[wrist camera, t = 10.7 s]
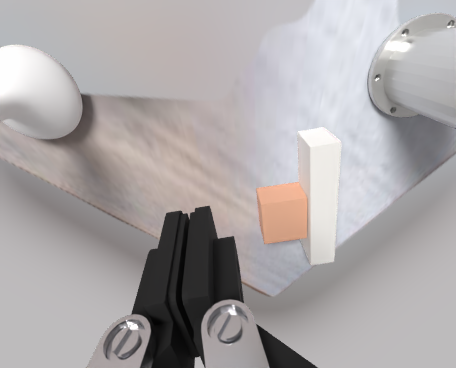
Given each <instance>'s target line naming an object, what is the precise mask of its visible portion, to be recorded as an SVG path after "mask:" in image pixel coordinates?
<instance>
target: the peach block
mask: <svg viewBox="0 0 456 368" xmlns="http://www.w3.org/2000/svg"><path fill="white" fill-rule="evenodd" d="M256 190H257V200H258V211H259V221H260V228H261V232H262V236H263V240H264V244H268V243H275V242H282V241H290V240H297V239H304V238H307V196H306V195H305V193H304V191H303V189H302V188H301V186H300V184H299V182H295V183H288V184H282V185H275V186H268V187H261V188H256Z"/></svg>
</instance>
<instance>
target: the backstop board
mask: <svg viewBox="0 0 456 368" xmlns="http://www.w3.org/2000/svg"><path fill="white" fill-rule="evenodd" d="M297 141H298V175H299V184H300V186H301V188H302V189H303V191H304V193H305V195H306V196H307V238H304V239H300V241H301V244H302V246H303V248H304V251H305V253H306V256H307V258H308V260H309V263H310V265H318V264H323V263H330V262H334V256H335V239H336V223H337V207H338V190H339V174H340V157H341V141H340V140H339V139H337V138H336V137H335V136H334V135H333V134H332V133H330V132H329V131H328V130H327V129H326V128H325V127H322V128H316V129H310V130H304V131H299V132H297Z"/></svg>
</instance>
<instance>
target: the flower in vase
mask: <svg viewBox="0 0 456 368" xmlns="http://www.w3.org/2000/svg"><path fill="white" fill-rule="evenodd" d="M82 108H83V107H82V98H81V94H80V91H79V89H78V87H77V84H76V82H75V81H74V79H73V77H72V76H71V75H70V73H69V72H68V71H67V70H66V69H65V68H64V67H63V65H61V64H60V63H59V62H58V61H57V60H56V59H54V58H53V57H51V56H50V55H48V54H46V53H45V52H43V51H41V50H38V49H36V48H33V47H29V46H24V45H8V46H4V47H1V48H0V122H4V123H5V124H6V125H7V126H9V127H10V128H12V129H13V130H15V131H17V132H19V133H21V134H23V135H26V136H28V137H32V138H37V139H56V138H61V137H63V136H66V135H68V134H69V133H71V132H72V131H73V130H74V129H75V128H76V127H77V125H78V124H79V122H80V119H81V116H82Z"/></svg>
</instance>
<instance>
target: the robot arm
mask: <svg viewBox="0 0 456 368" xmlns="http://www.w3.org/2000/svg"><path fill="white" fill-rule="evenodd" d="M402 31H403V32H402ZM375 76H376V77H375ZM368 89H369V93H370V97H371V99H372V101H373V103H374V104H375V105H376V106H377V108H378V109H380V110H381V111H383V112H384V113H386V114H388V115H391V116H395V117H412V116H416V115H419V114H421V115H423V116H426V117H428V118H430V119H433V120H435V121H438V122H440V123H443V124H445V125H448V126H450V127H452V128H455V129H456V17H454V16H452V15H449V14H443V13H430V14H425V15H420V16H418V17H415V18H413V19H410V20H409V21H407V22H405V23H404V24H402V25H400V26H399V27H398V28H397V29H396V30H394V31H393V32H392V33H391V34H390V35H389V36H388V37H387V39H386V40H385V41H384V42H383V44H382V45H381V46H380V48H379V49H378V51H377V53H376V55H375V57H374V59H373V61H372V64H371V67H370V71H369V77H368ZM199 356H200V357H201V360H202V362H203V364H204V367H205V368H317V367H316V366H315V365H313V364H312V363H310V362H309V361H308V360H306V359H305V358H303V357H302V356H301V355H299V354H298V353H296V352H295V351H293V350H292V349H291V348H289V347H288V346H286V345H285V344H284V343H282V342H281V341H280V340H278V339H277V338H275V337H273V336H272V335H271V334H270V333H268V332H267V331H265V330H264V329H263V328H261V327H260V326H258V325H257V324H256V323H255V320H254V317H253V314H252V312H251V310H250V309H249V308H248V307H247V306H246V305H245V304H244V301H243V292H242V284H241V275H240V268H239V261H238V255H237V249H236V244H235V240H234V236H232V237H226V238H220V239H218V237H217V233H216V229H215V225H214V221H213V217H212V212H211V209H210V206H205V207H199V208H195V212H192V213H190V220H189V217H188V214H187V213H186V214H183V213H182V211H175V212H169V213H166V216H165V220H164V225H163V229H162V233H161V237H160V241H159V245H158V249H152V250H150V251H149V254H148V257H147V260H146V264H145V268H144V271H143V274H142V278H141V282H140V285H139V289H138V292H137V296H136V300H135V304H134V307H133V310H132V314H131V315H127V316H125V317H122V318H120V319H118V320H117V321H116V322H114V323H113V324H112V325H111V326H110V327H109V328H108V329H107V330H106V331H105V333H104V334H103V336H102V337H101V339H100V341H99V343H98V345H97V347H96V349H95V351H94V353H93V355H92V357H91V360H90V361H89V364H88V366H87V367H86V368H194V363H195V357H199Z"/></svg>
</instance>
